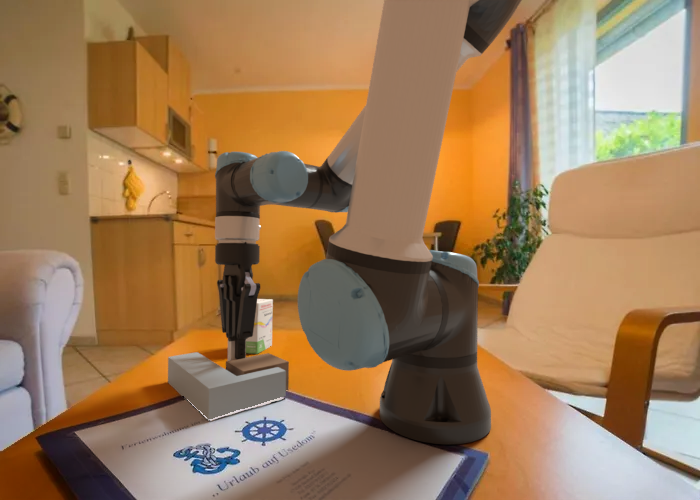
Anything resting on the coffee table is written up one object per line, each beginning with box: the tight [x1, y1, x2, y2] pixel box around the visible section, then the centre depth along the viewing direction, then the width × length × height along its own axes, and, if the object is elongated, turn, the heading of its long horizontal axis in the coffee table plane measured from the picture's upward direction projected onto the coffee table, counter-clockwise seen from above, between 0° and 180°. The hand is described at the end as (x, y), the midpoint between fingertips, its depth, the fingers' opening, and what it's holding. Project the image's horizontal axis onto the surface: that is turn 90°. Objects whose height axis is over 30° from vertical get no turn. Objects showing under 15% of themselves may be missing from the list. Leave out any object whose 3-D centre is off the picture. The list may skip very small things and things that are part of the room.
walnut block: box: [225, 352, 290, 391], centre depth 61 cm, size 7×8×5 cm
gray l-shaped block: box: [167, 351, 287, 419], centre depth 61 cm, size 20×12×4 cm, turn 41°
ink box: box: [246, 298, 274, 355], centre depth 88 cm, size 9×5×15 cm, turn 168°
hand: (236, 375), depth 64 cm, fingers closed
